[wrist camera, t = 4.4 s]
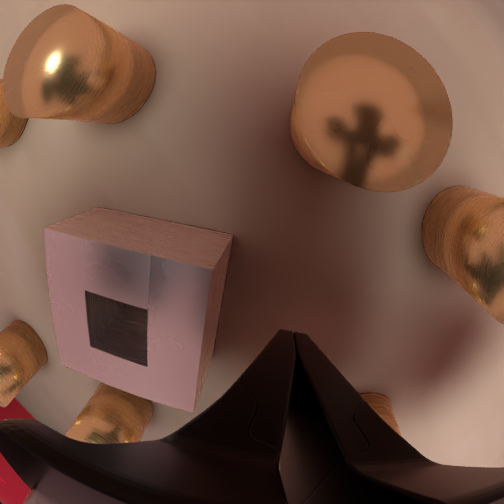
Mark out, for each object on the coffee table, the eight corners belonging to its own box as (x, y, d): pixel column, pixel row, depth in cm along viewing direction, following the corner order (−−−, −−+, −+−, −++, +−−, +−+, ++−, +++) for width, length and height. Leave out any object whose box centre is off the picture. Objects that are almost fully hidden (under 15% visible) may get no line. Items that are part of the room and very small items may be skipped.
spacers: (362, 460, 13) (370, 517, 9) (16, 362, 13) (-19, 398, 10) (505, 138, 7) (581, 144, 4) (4, 65, 8) (-57, 59, 4)
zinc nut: (212, 357, 11) (193, 413, 8) (99, 323, 11) (61, 364, 8) (233, 234, 10) (212, 269, 7) (98, 207, 10) (44, 228, 7)
